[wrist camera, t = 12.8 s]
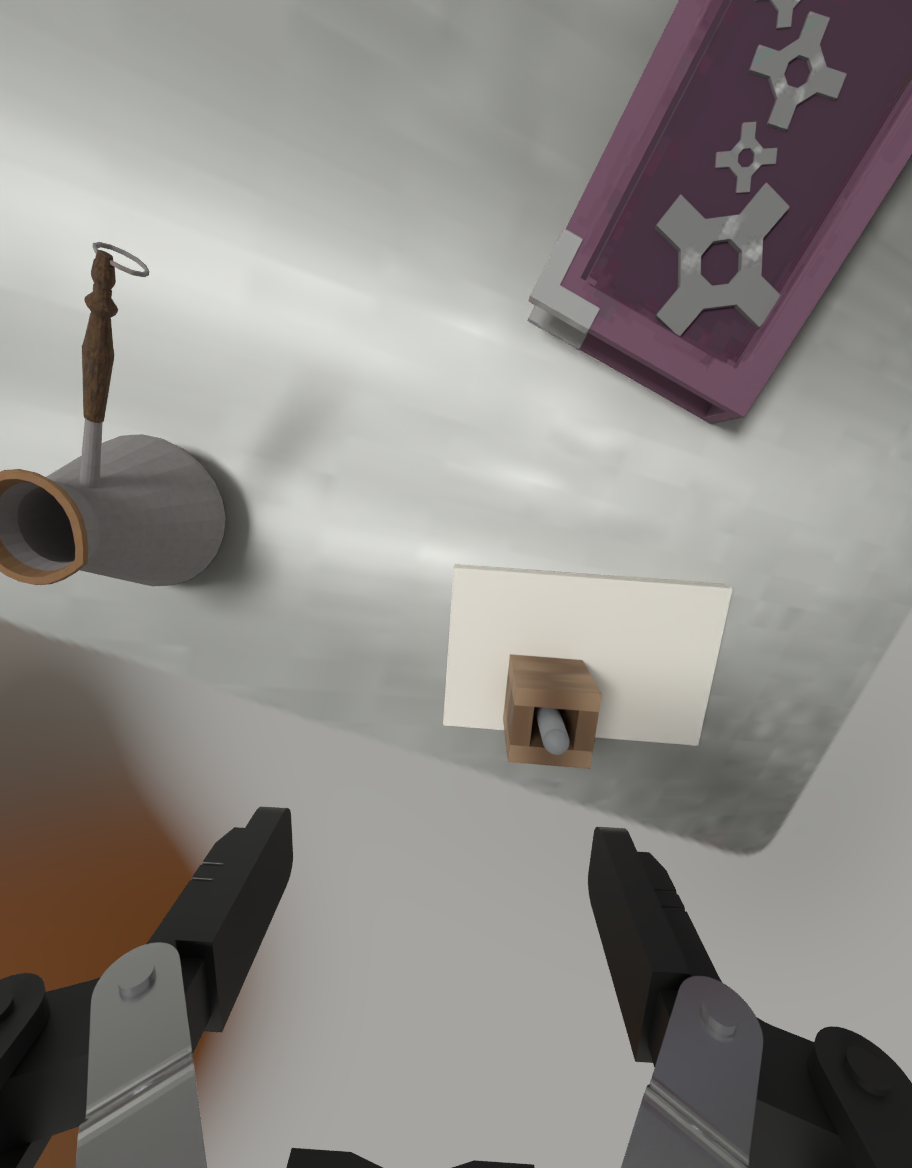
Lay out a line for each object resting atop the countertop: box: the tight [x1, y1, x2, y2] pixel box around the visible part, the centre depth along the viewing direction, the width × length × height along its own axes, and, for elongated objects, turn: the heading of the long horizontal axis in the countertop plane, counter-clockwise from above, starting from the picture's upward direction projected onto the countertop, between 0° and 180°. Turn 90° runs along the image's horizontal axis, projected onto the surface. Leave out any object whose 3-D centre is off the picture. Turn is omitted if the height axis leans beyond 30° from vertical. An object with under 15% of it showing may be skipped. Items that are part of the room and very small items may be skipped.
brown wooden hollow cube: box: [503, 654, 602, 769], centre depth 36 cm, size 6×6×6 cm
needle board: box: [443, 564, 733, 755], centre depth 35 cm, size 22×14×10 cm, turn 86°
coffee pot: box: [0, 242, 226, 586], centre depth 29 cm, size 21×12×15 cm, turn 146°
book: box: [528, 0, 912, 424], centre depth 29 cm, size 25×16×5 cm, turn 153°
